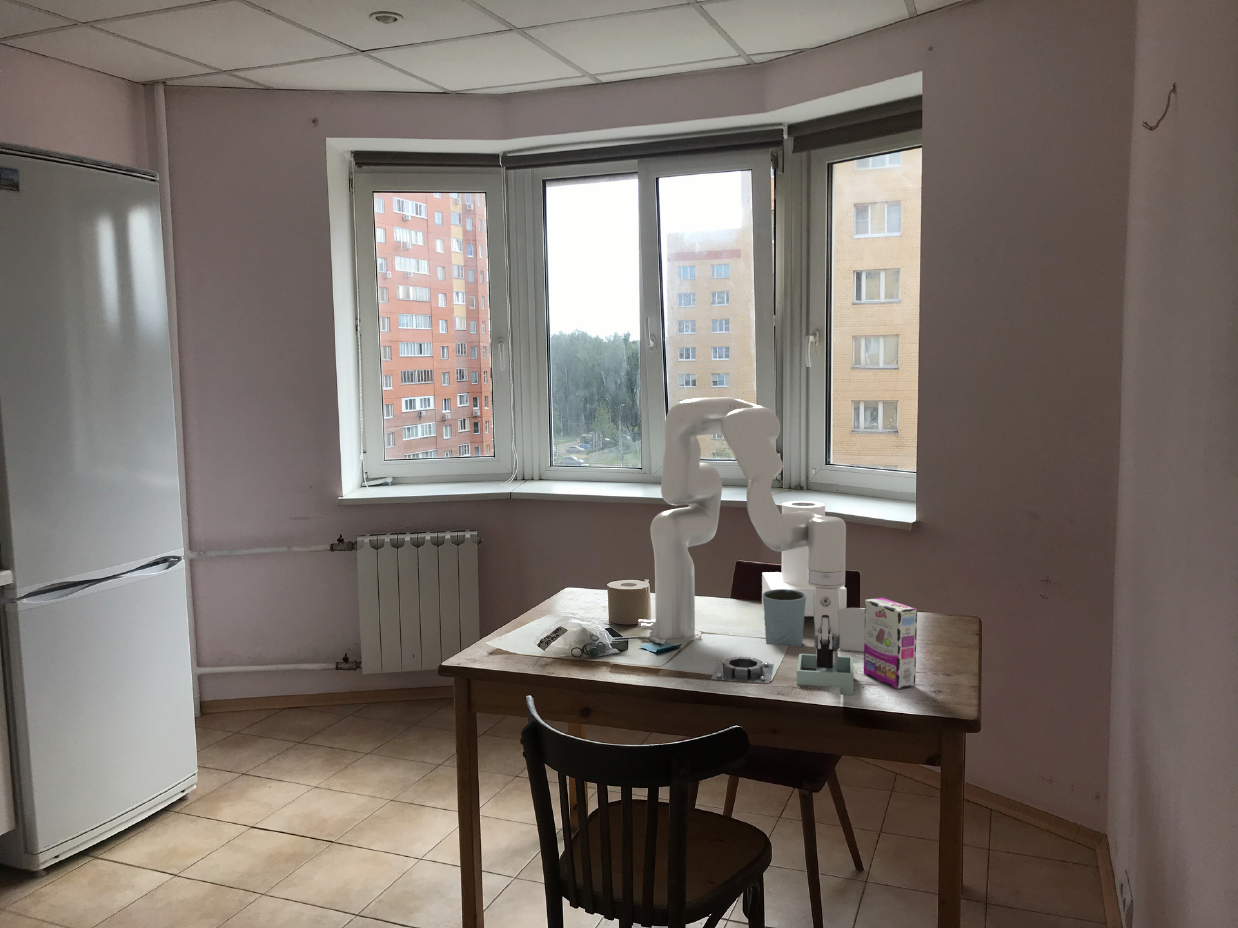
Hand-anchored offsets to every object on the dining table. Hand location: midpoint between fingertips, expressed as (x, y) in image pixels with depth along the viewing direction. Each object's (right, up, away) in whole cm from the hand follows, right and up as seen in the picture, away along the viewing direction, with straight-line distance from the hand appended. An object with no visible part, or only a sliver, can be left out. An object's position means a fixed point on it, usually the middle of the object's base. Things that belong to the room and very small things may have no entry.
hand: (825, 661), depth 191 cm
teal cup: (-4, -2, +28) cm, 28 cm away
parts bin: (0, -5, 0) cm, 5 cm away
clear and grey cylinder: (0, -4, 0) cm, 4 cm away
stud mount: (-16, -4, +4) cm, 18 cm away
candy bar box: (+14, -5, +2) cm, 15 cm away
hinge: (+13, -2, +26) cm, 29 cm away
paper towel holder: (+5, +1, +50) cm, 50 cm away
